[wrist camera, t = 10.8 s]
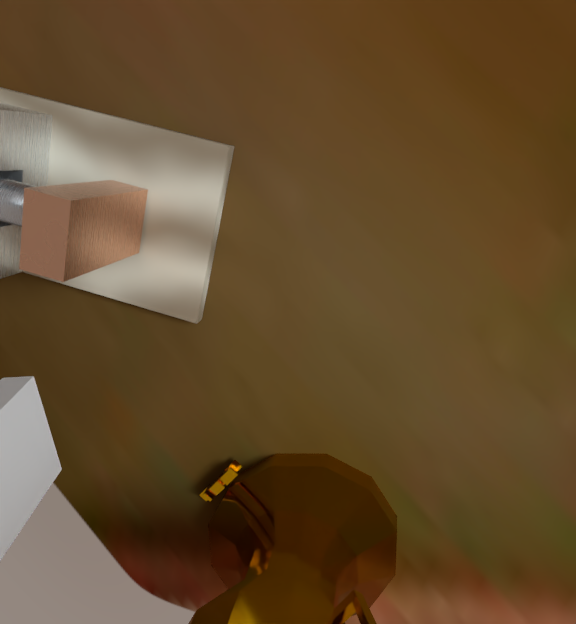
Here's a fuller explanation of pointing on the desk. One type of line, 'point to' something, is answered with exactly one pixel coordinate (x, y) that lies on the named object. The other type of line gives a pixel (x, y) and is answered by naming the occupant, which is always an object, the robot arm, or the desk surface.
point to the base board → (159, 206)
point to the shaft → (73, 224)
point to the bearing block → (21, 168)
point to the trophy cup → (298, 543)
